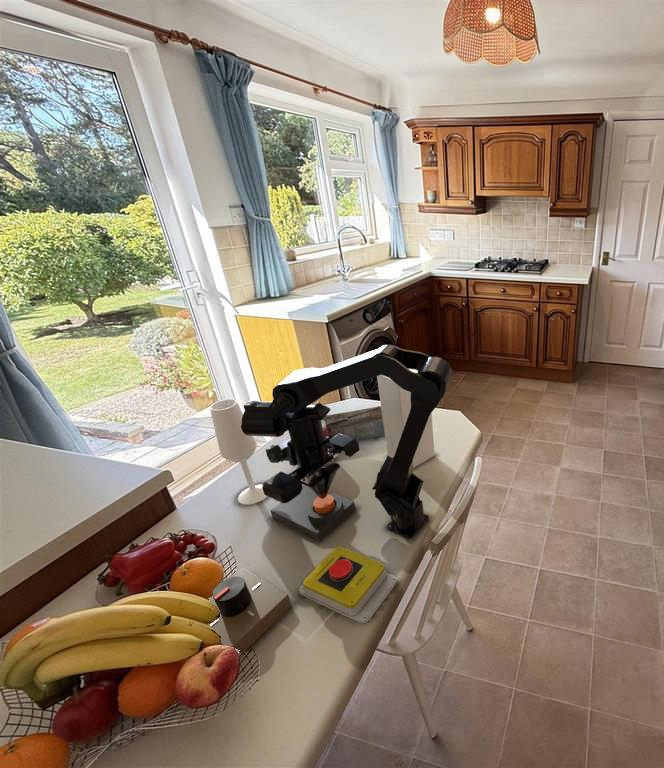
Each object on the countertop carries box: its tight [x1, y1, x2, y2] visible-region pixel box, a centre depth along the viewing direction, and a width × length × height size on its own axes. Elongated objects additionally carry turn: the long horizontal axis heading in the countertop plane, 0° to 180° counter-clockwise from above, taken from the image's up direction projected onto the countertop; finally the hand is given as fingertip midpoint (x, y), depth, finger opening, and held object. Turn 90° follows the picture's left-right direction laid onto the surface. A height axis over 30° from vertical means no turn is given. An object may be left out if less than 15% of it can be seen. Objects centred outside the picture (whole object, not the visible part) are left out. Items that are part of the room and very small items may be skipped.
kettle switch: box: [313, 494, 335, 514], centre depth 85 cm, size 4×4×2 cm
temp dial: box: [212, 576, 251, 617], centre depth 66 cm, size 4×4×4 cm
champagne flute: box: [209, 398, 268, 505], centre depth 88 cm, size 7×7×24 cm
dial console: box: [208, 567, 292, 655], centre depth 67 cm, size 12×10×3 cm
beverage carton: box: [323, 405, 385, 442], centre depth 114 cm, size 8×19×7 cm, turn 111°
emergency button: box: [298, 546, 398, 624], centre depth 72 cm, size 9×4×15 cm
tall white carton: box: [376, 369, 436, 469], centre depth 102 cm, size 9×9×25 cm
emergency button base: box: [269, 485, 356, 542], centre depth 88 cm, size 14×10×4 cm
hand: (322, 497), depth 84 cm, fingers closed
